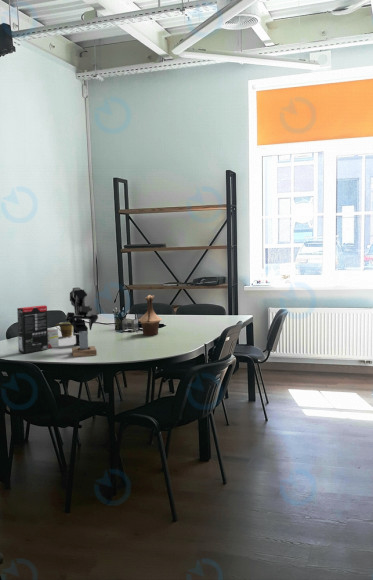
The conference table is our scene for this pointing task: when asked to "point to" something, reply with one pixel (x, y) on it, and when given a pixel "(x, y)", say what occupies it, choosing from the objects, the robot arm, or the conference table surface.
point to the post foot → (84, 351)
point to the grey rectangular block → (83, 340)
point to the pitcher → (150, 319)
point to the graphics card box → (32, 329)
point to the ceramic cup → (66, 329)
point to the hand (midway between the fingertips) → (83, 329)
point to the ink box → (53, 337)
